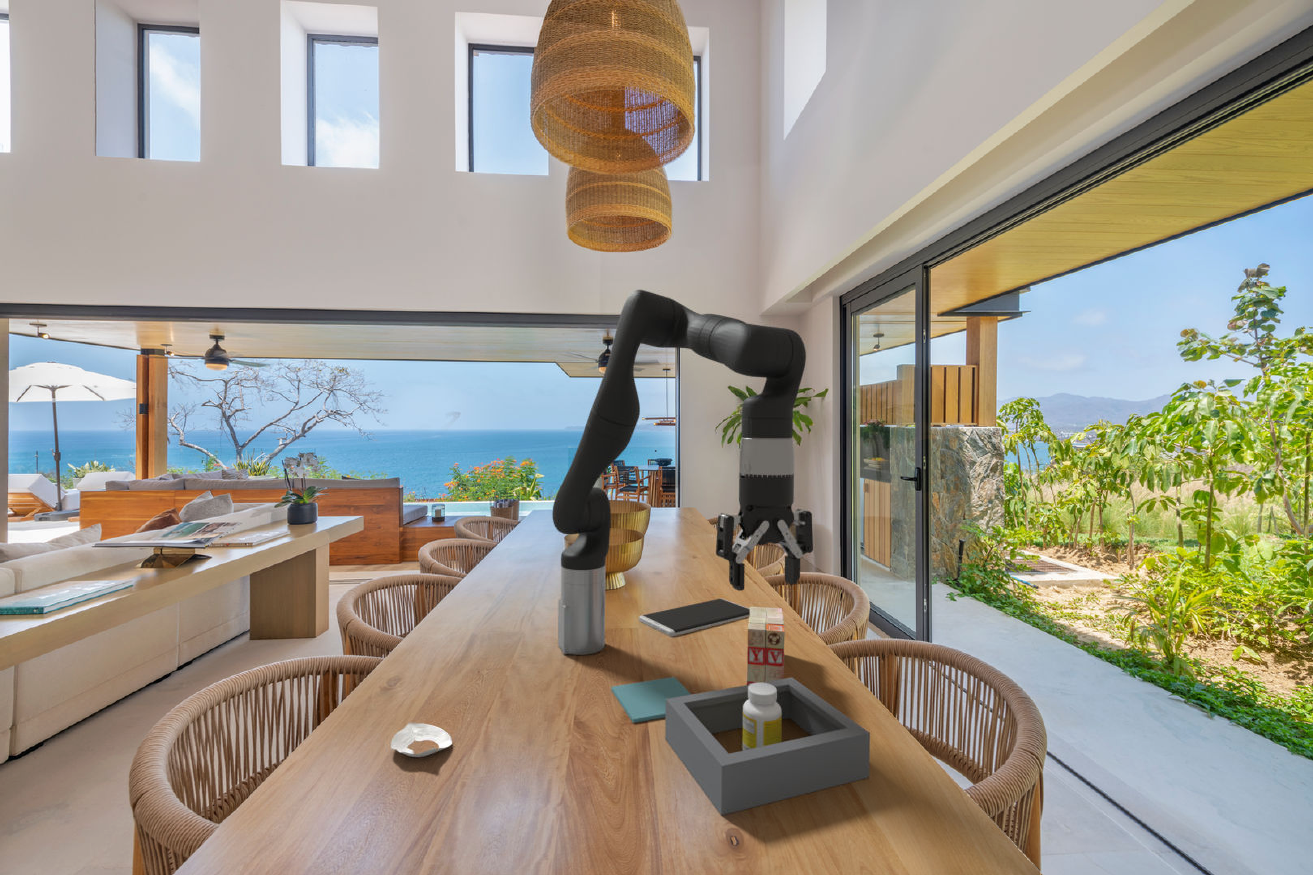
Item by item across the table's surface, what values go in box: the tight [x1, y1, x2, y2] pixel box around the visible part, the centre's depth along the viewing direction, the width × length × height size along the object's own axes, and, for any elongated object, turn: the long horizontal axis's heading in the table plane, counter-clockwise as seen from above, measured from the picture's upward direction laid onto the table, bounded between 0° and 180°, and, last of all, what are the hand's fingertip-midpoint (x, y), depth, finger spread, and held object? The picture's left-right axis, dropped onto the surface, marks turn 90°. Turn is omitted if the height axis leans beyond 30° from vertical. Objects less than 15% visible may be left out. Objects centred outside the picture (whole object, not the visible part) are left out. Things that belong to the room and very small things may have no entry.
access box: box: [664, 677, 871, 816], centre depth 82 cm, size 22×18×6 cm
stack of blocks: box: [746, 606, 786, 685], centre depth 110 cm, size 21×6×12 cm, turn 169°
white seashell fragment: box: [390, 722, 453, 758], centre depth 84 cm, size 8×12×2 cm, turn 37°
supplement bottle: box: [742, 683, 783, 751], centre depth 82 cm, size 5×5×10 cm
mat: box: [610, 676, 692, 724], centre depth 99 cm, size 12×12×1 cm
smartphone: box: [638, 598, 750, 638], centre depth 141 cm, size 13×27×2 cm, turn 126°
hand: (764, 586), depth 82 cm, fingers open, 8 cm apart
